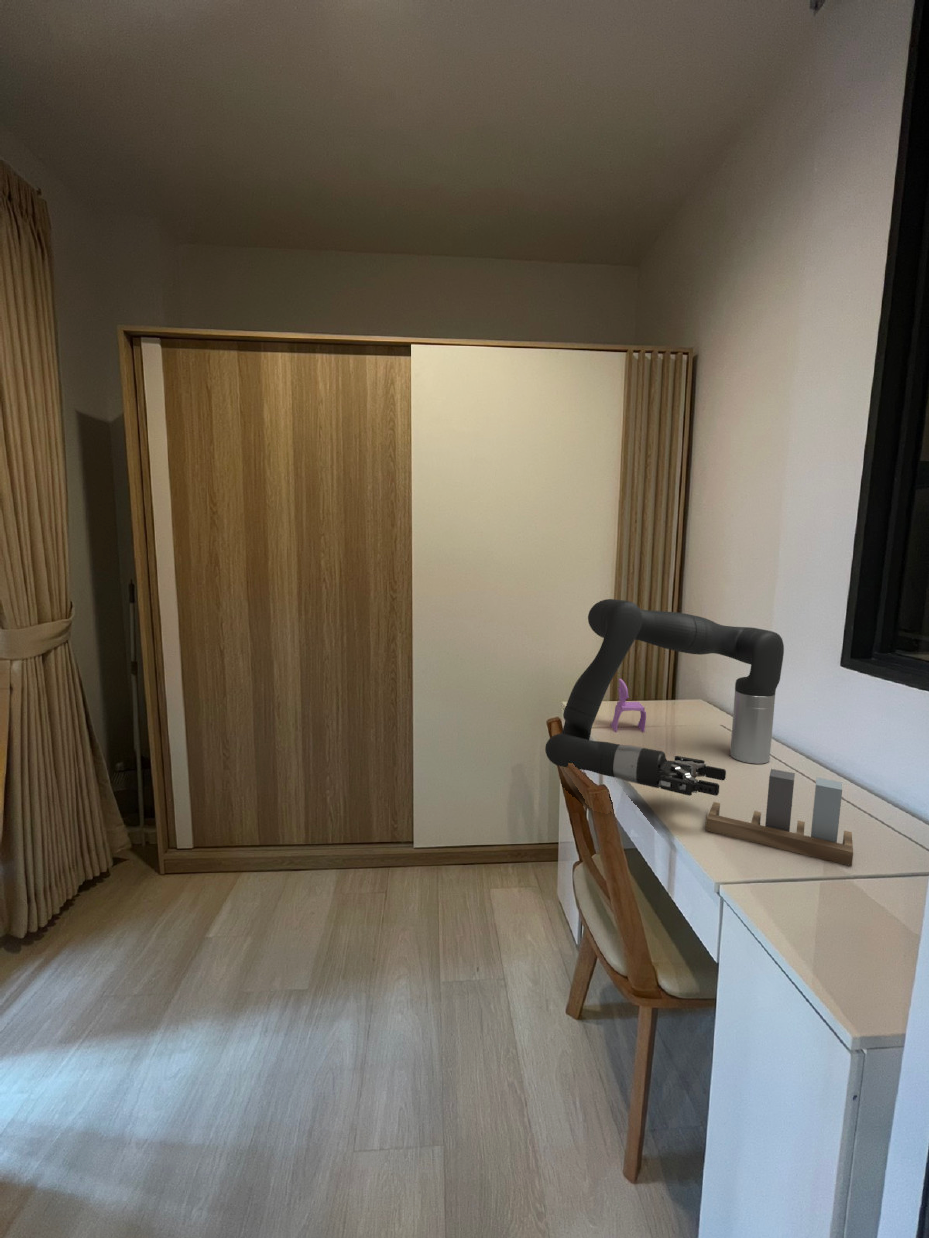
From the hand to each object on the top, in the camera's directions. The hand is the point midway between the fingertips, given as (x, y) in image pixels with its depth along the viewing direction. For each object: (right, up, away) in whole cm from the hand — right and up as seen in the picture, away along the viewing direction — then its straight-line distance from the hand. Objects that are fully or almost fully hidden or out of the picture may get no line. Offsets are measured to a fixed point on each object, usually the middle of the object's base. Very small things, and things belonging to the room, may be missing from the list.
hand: (722, 782), depth 118 cm
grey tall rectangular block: (+9, -9, -4) cm, 13 cm away
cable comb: (+8, -9, -6) cm, 13 cm away
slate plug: (+15, -10, -8) cm, 19 cm away
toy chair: (-3, 0, +58) cm, 58 cm away
